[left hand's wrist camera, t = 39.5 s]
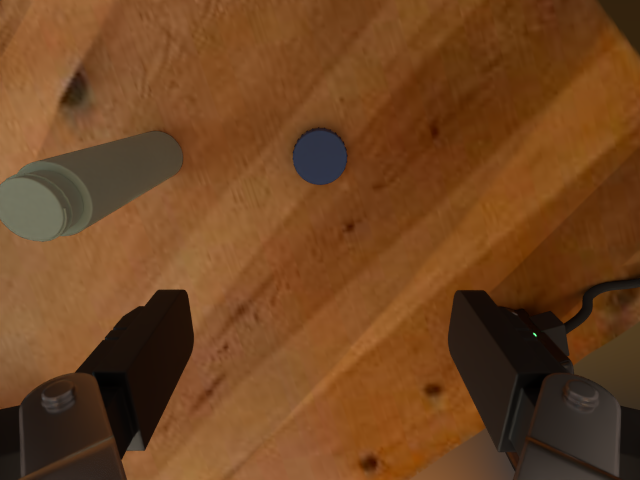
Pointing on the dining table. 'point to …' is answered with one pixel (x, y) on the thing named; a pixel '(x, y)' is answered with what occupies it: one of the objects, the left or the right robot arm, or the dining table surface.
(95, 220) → the green bottle
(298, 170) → the lid
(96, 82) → the dining table surface
